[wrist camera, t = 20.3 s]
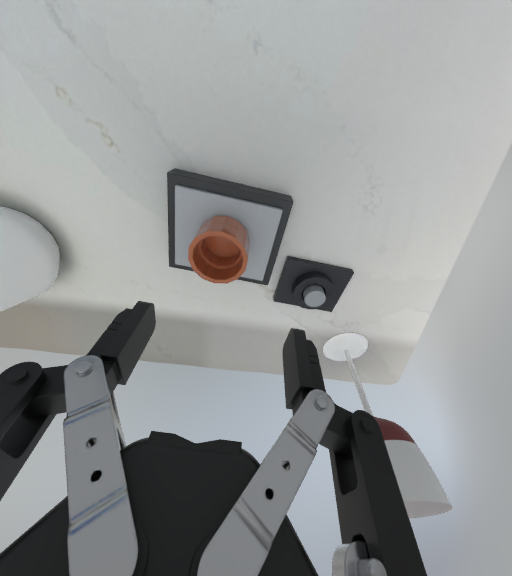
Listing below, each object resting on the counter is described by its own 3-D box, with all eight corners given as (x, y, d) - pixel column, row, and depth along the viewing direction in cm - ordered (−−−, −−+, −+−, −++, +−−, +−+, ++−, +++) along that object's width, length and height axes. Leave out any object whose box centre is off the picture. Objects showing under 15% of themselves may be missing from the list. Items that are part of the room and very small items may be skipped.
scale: (291, 196, 27) (294, 203, 25) (267, 275, 34) (267, 288, 32) (174, 168, 26) (165, 173, 23) (174, 257, 33) (167, 269, 30)
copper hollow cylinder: (254, 220, 26) (252, 238, 22) (244, 265, 30) (241, 288, 26) (200, 208, 25) (189, 224, 21) (197, 256, 29) (187, 278, 25)
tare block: (352, 269, 33) (358, 278, 31) (330, 308, 38) (334, 318, 36) (287, 256, 32) (289, 264, 30) (273, 297, 37) (273, 308, 35)
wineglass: (381, 339, 42) (473, 507, 24) (348, 367, 48) (401, 521, 30) (341, 324, 40) (407, 496, 22) (311, 355, 46) (343, 513, 27)
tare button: (326, 286, 33) (329, 293, 31) (318, 302, 34) (321, 308, 33) (307, 282, 32) (308, 289, 31) (300, 298, 34) (301, 305, 33)
